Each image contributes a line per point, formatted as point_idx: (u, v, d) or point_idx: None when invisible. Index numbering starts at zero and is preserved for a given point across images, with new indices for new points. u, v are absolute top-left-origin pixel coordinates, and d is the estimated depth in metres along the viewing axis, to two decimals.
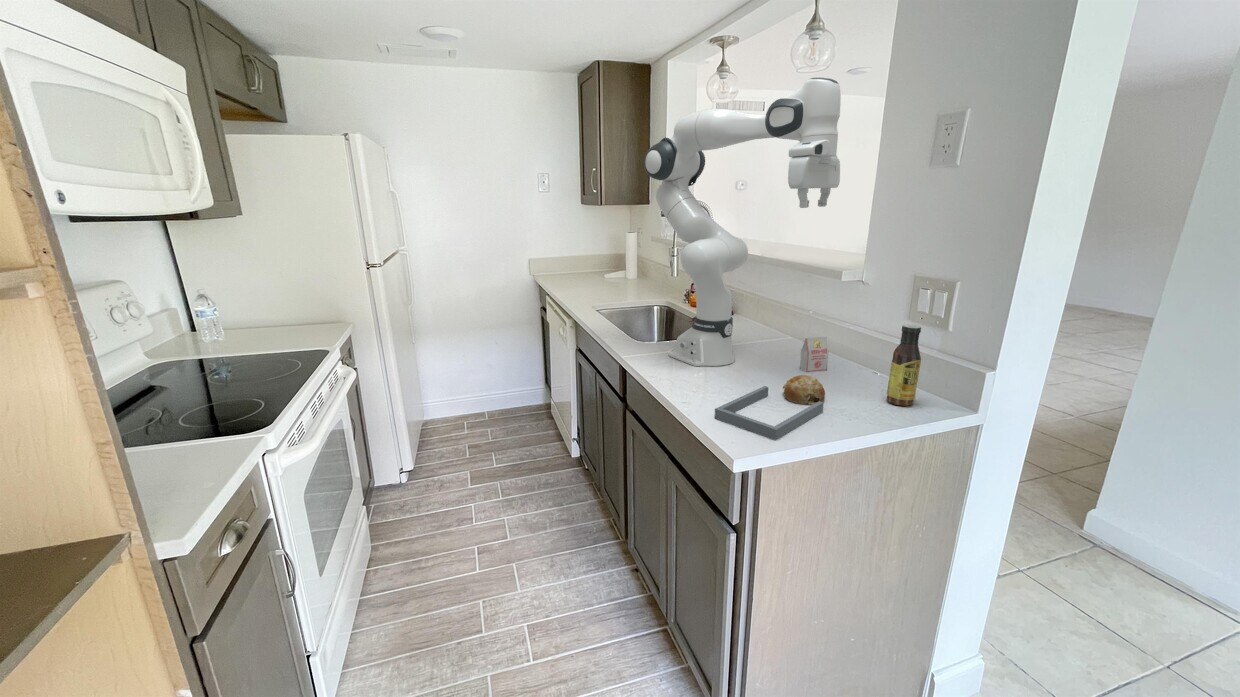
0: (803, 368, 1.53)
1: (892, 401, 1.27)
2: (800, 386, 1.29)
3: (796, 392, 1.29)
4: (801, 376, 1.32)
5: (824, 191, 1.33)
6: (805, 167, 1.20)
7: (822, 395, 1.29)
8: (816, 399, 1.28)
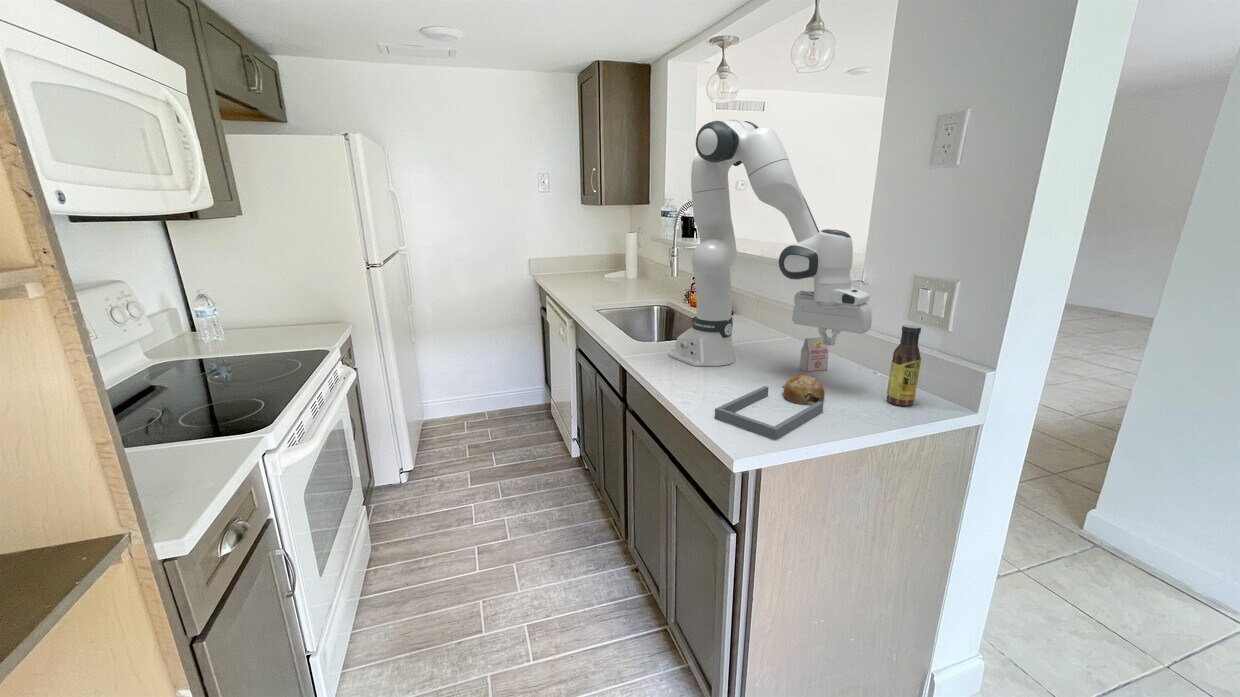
0: (803, 368, 1.53)
1: (892, 401, 1.27)
2: (800, 386, 1.29)
3: (795, 392, 1.29)
4: (800, 376, 1.32)
5: (825, 330, 1.36)
6: None
7: (821, 395, 1.29)
8: (815, 399, 1.29)
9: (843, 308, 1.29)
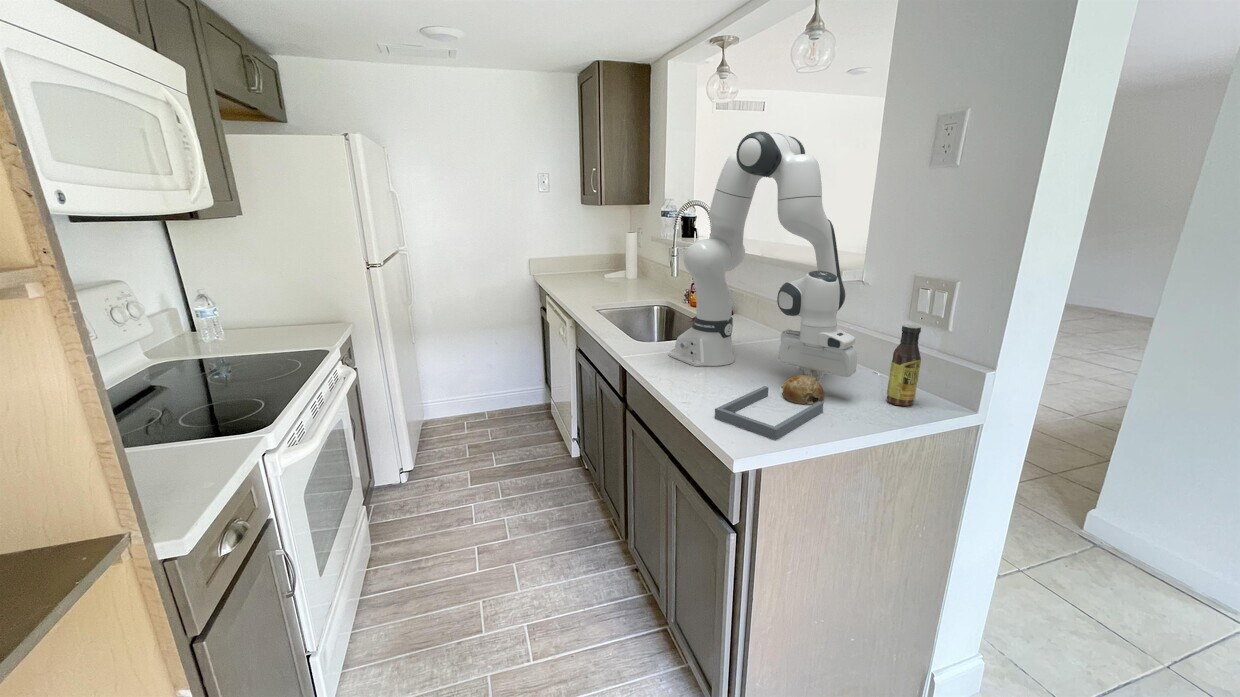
0: (803, 368, 1.53)
1: (892, 401, 1.27)
2: (799, 386, 1.29)
3: (795, 392, 1.29)
4: (800, 376, 1.32)
5: (810, 370, 1.36)
6: None
7: (821, 395, 1.29)
8: (815, 399, 1.29)
9: (828, 350, 1.28)
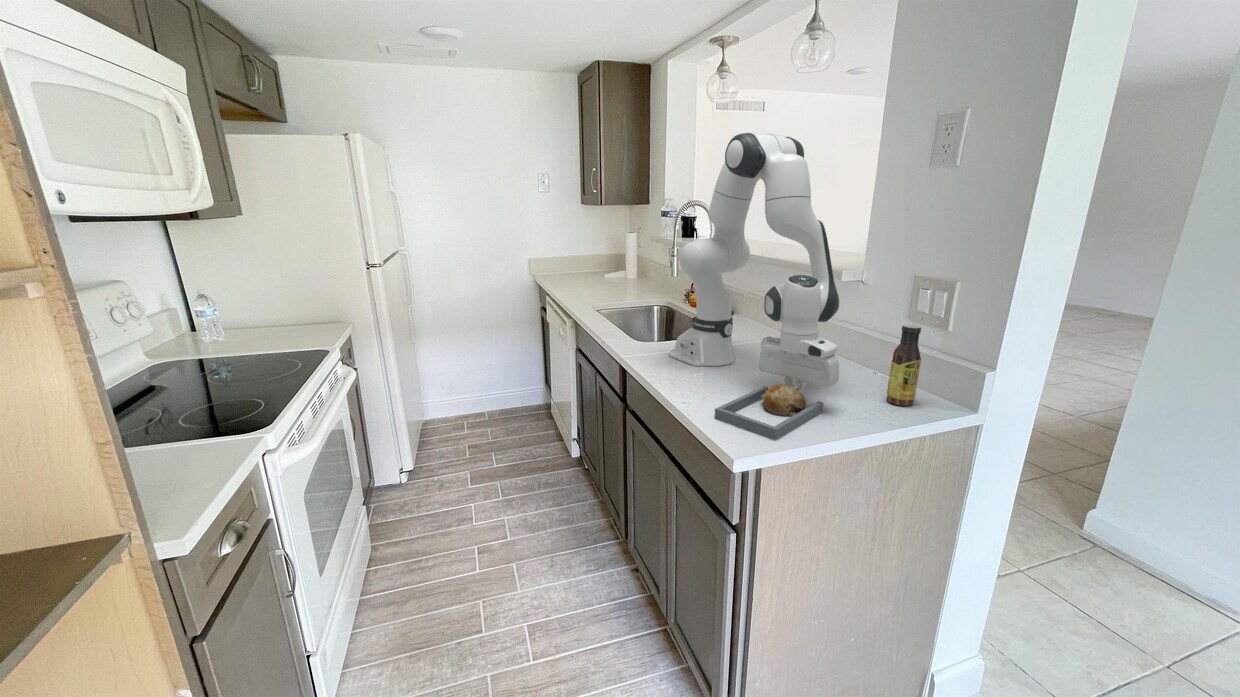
0: None
1: (892, 401, 1.27)
2: (781, 396, 1.22)
3: (777, 403, 1.22)
4: (781, 385, 1.25)
5: (791, 379, 1.30)
6: None
7: (803, 405, 1.23)
8: (797, 409, 1.22)
9: (809, 359, 1.22)
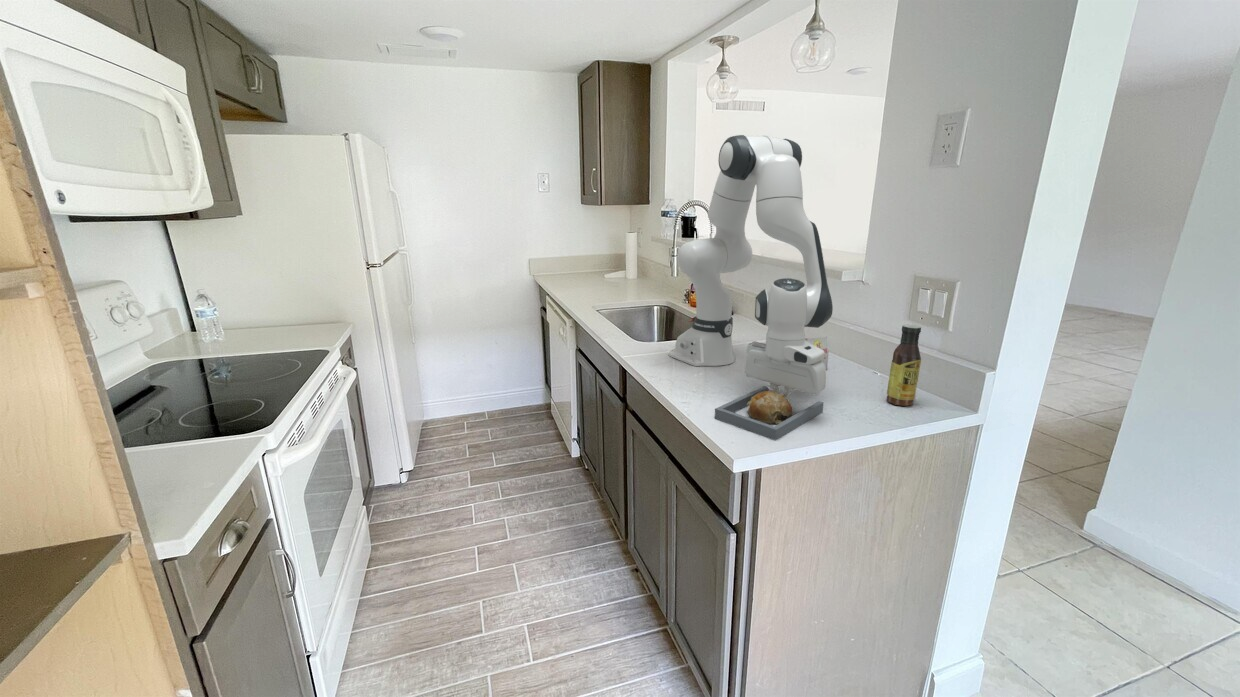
0: None
1: (892, 401, 1.27)
2: (766, 404, 1.18)
3: (762, 411, 1.18)
4: (766, 392, 1.21)
5: (777, 385, 1.26)
6: None
7: (789, 412, 1.19)
8: (783, 417, 1.18)
9: (795, 365, 1.18)
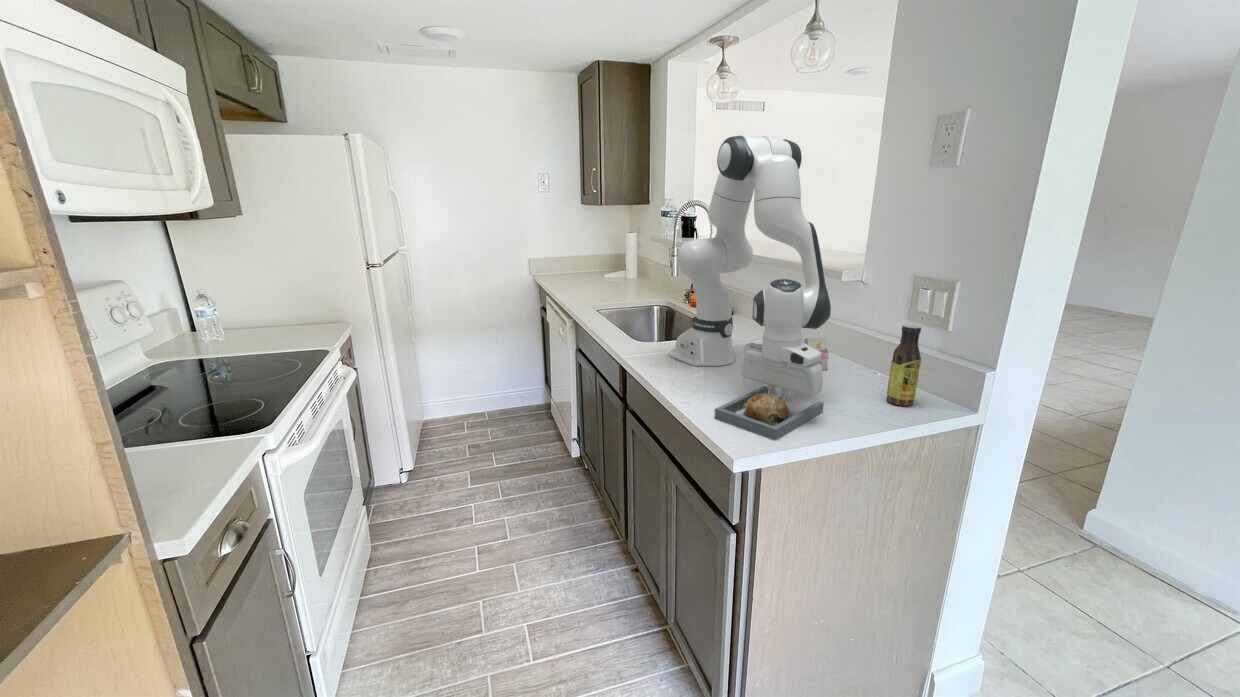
0: None
1: (892, 401, 1.27)
2: (763, 406, 1.17)
3: (758, 413, 1.17)
4: (763, 394, 1.20)
5: (774, 387, 1.25)
6: None
7: (786, 415, 1.18)
8: (780, 419, 1.18)
9: (792, 367, 1.17)
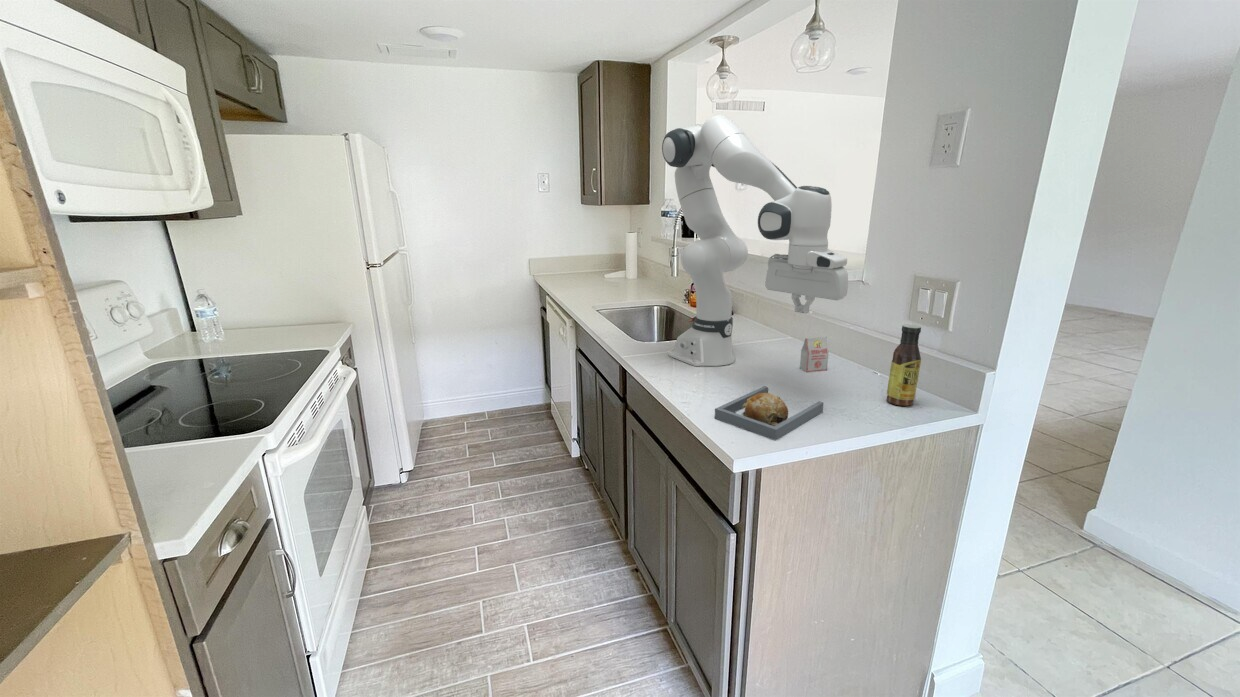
0: (803, 368, 1.53)
1: (892, 401, 1.27)
2: (762, 406, 1.17)
3: (758, 413, 1.17)
4: (762, 394, 1.21)
5: (798, 296, 1.27)
6: None
7: (785, 414, 1.18)
8: (779, 419, 1.18)
9: (817, 272, 1.19)
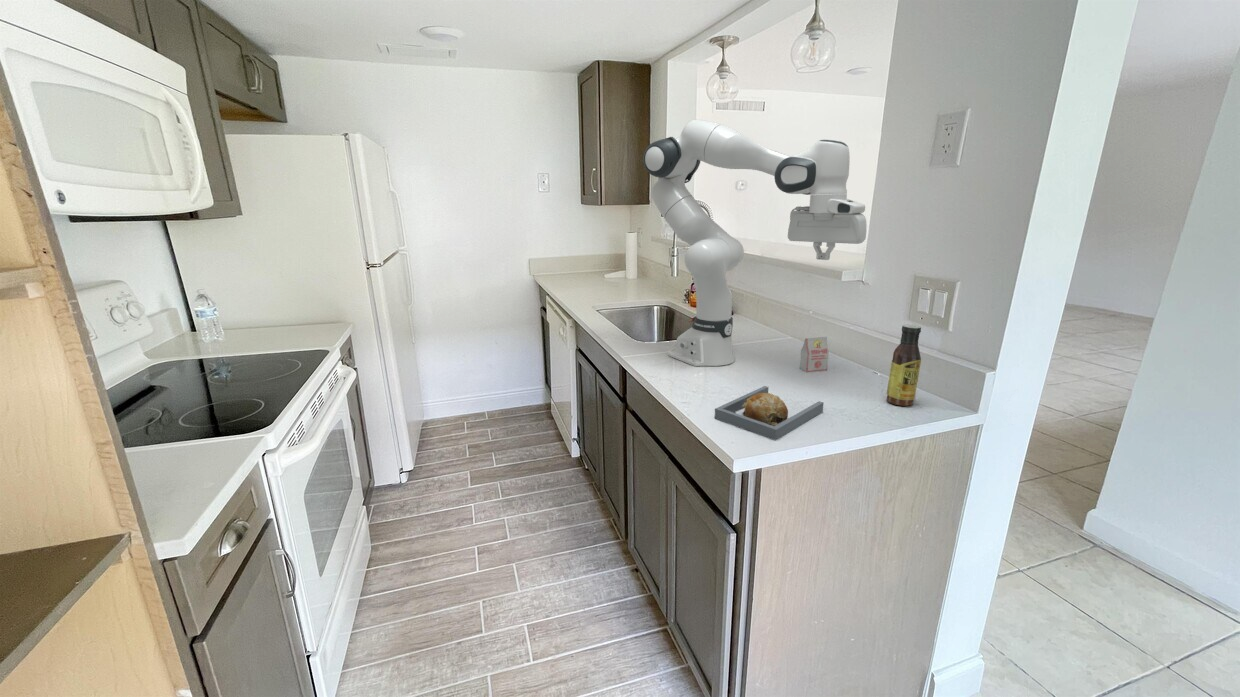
0: (803, 368, 1.53)
1: (892, 401, 1.27)
2: (762, 406, 1.17)
3: (758, 413, 1.17)
4: (762, 394, 1.21)
5: (819, 245, 1.36)
6: None
7: (785, 414, 1.18)
8: (779, 419, 1.18)
9: (838, 218, 1.29)
